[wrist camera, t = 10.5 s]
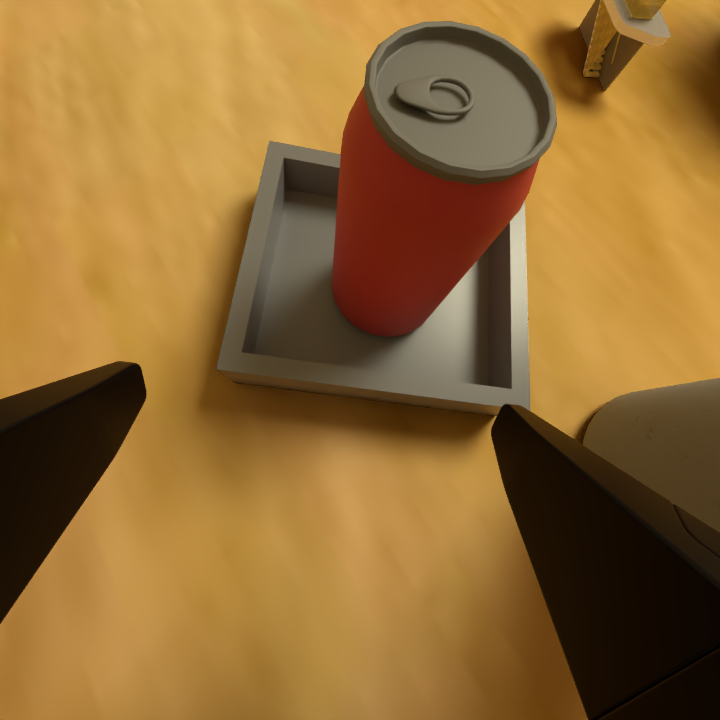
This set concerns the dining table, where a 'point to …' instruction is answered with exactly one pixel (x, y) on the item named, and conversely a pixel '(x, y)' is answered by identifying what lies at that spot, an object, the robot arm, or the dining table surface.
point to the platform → (620, 34)
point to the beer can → (432, 168)
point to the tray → (343, 339)
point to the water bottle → (666, 443)
